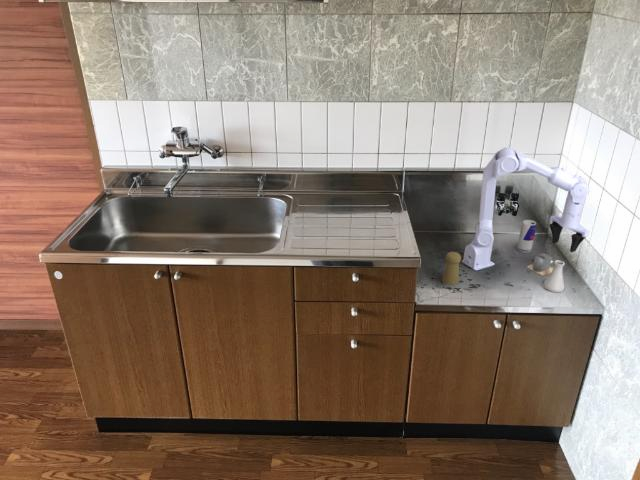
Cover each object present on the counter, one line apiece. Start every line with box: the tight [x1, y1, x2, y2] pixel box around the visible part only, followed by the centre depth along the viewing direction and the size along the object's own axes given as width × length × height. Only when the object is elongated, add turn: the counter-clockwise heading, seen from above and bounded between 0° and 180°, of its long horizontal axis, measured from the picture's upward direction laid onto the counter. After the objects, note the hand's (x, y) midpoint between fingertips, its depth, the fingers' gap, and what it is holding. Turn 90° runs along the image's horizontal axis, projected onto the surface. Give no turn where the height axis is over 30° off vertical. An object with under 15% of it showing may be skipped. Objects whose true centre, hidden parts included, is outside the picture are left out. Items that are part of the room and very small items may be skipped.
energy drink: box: [516, 219, 537, 254], centre depth 201 cm, size 5×5×12 cm
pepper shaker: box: [441, 251, 462, 286], centre depth 181 cm, size 6×6×11 cm
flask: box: [542, 259, 566, 293], centre depth 177 cm, size 7×7×10 cm
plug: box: [533, 252, 554, 272], centre depth 189 cm, size 8×4×5 cm, turn 117°
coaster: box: [526, 263, 554, 277], centre depth 190 cm, size 7×7×1 cm
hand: (563, 246), depth 184 cm, fingers open, 7 cm apart
